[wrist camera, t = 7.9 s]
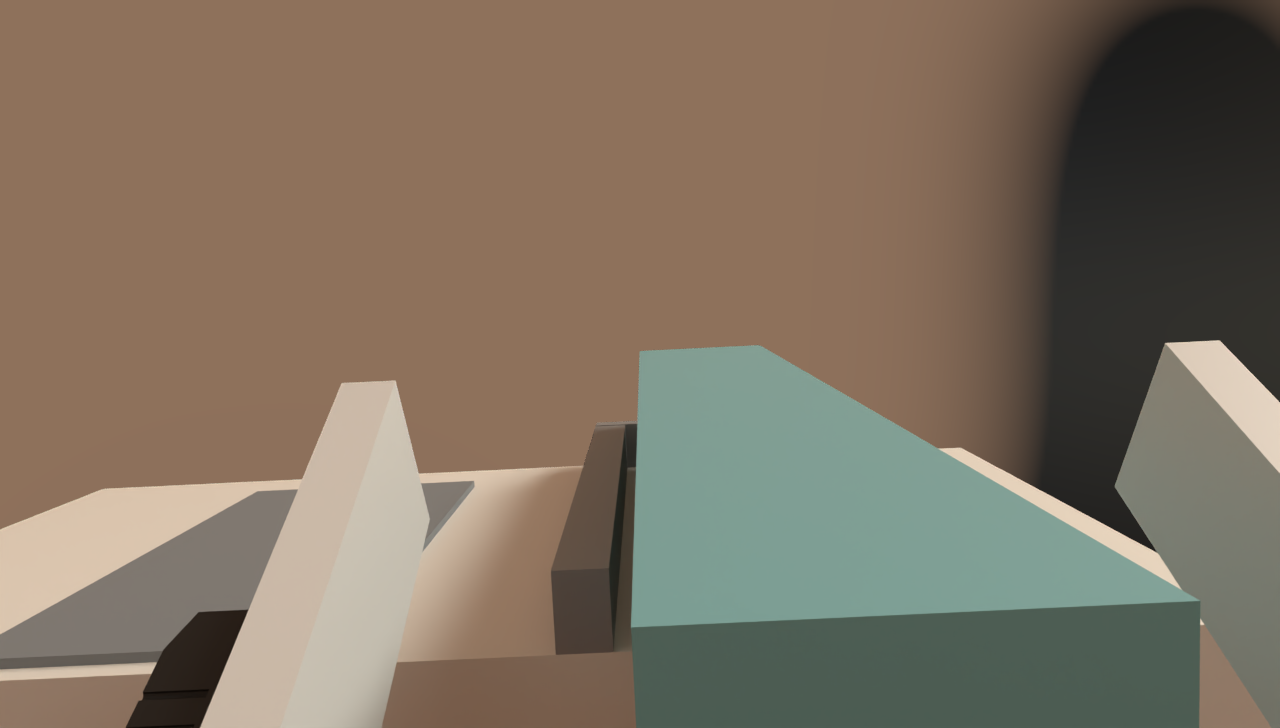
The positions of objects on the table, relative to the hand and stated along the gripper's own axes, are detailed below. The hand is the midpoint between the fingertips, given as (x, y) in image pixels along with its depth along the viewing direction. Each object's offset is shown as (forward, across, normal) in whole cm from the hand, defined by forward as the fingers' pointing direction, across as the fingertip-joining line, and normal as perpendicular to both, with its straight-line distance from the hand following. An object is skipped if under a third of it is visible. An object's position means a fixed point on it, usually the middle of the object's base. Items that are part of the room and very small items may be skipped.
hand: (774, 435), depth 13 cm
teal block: (+2, 0, -6) cm, 6 cm away
